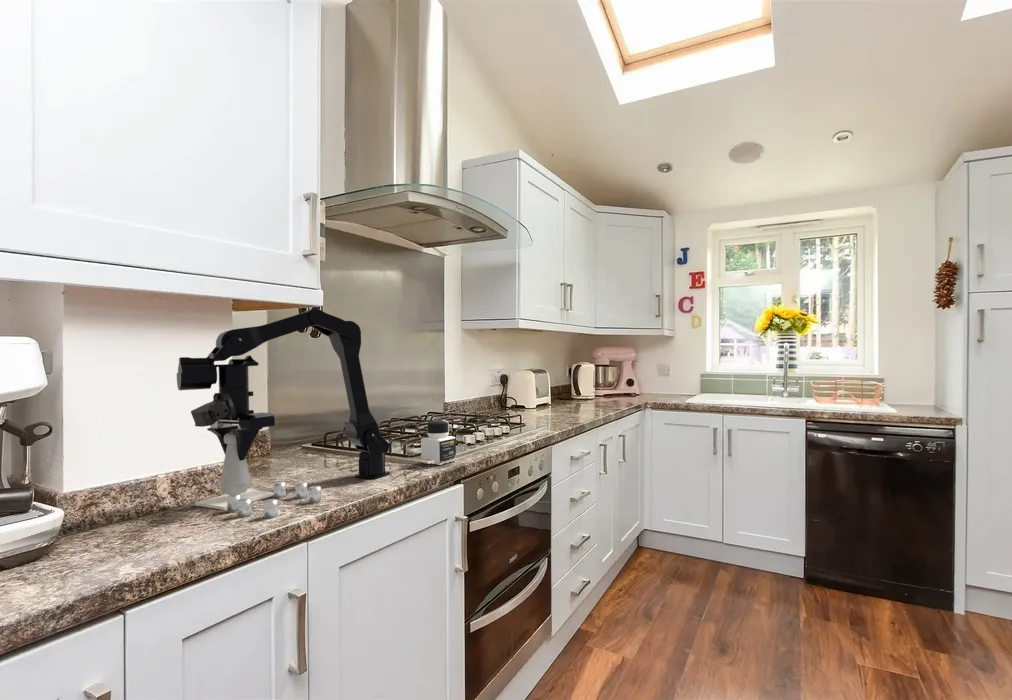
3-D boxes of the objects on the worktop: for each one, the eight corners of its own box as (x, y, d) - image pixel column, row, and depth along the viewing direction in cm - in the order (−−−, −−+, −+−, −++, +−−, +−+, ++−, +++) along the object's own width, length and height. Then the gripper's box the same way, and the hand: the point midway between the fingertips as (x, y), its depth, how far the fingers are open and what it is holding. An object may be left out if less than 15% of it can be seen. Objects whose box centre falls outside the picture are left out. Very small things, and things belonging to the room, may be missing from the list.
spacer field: (285, 493, 116) (285, 479, 116) (328, 498, 110) (328, 484, 110) (217, 513, 101) (217, 498, 101) (263, 521, 96) (263, 505, 96)
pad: (246, 491, 118) (246, 488, 118) (273, 495, 115) (273, 492, 115) (195, 505, 108) (195, 502, 108) (223, 509, 104) (223, 506, 104)
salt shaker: (230, 497, 107) (228, 434, 107) (215, 494, 110) (213, 433, 110) (256, 490, 112) (255, 431, 112) (241, 487, 115) (240, 429, 115)
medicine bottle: (440, 466, 142) (439, 422, 142) (420, 463, 146) (420, 421, 146) (456, 461, 148) (455, 419, 148) (437, 459, 152) (436, 418, 152)
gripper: (169, 390, 108) (170, 464, 108) (228, 390, 100) (230, 470, 100) (219, 386, 118) (220, 454, 118) (276, 386, 110) (277, 459, 110)
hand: (235, 459), depth 111 cm, fingers closed on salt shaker, 3 cm apart
